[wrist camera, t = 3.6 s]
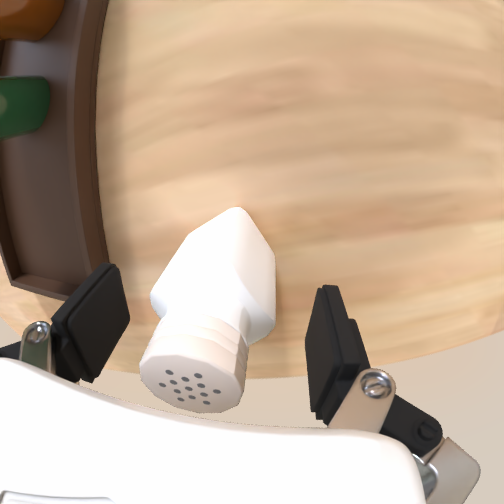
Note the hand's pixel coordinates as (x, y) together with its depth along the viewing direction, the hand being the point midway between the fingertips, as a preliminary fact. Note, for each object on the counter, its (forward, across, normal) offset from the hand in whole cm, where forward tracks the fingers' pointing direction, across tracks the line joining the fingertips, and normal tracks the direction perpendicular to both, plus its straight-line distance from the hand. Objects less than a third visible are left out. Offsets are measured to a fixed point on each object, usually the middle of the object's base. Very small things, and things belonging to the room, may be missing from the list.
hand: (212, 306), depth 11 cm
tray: (+5, +14, -8) cm, 17 cm away
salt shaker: (+6, 0, 0) cm, 6 cm away
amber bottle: (+5, +14, -16) cm, 22 cm away
